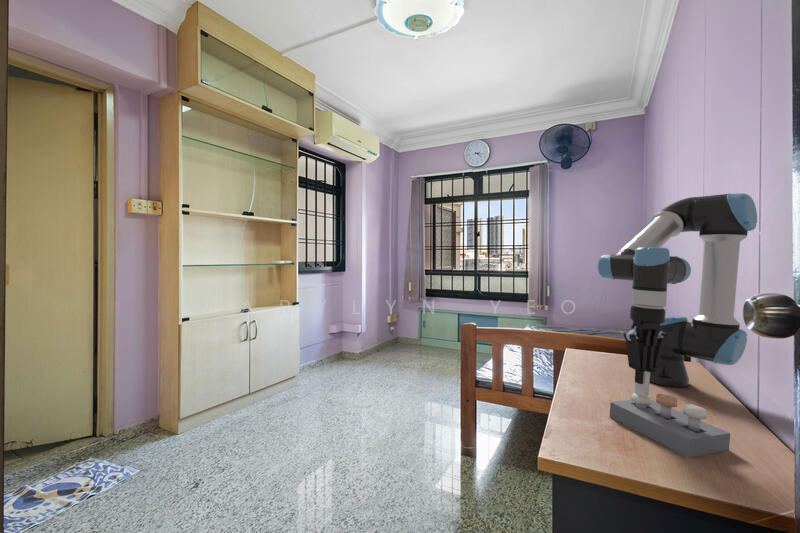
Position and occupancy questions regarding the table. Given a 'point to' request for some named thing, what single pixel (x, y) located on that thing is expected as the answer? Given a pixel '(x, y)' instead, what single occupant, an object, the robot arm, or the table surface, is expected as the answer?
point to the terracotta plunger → (666, 405)
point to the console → (671, 429)
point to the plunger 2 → (694, 416)
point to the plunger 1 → (641, 400)
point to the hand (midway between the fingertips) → (641, 395)
